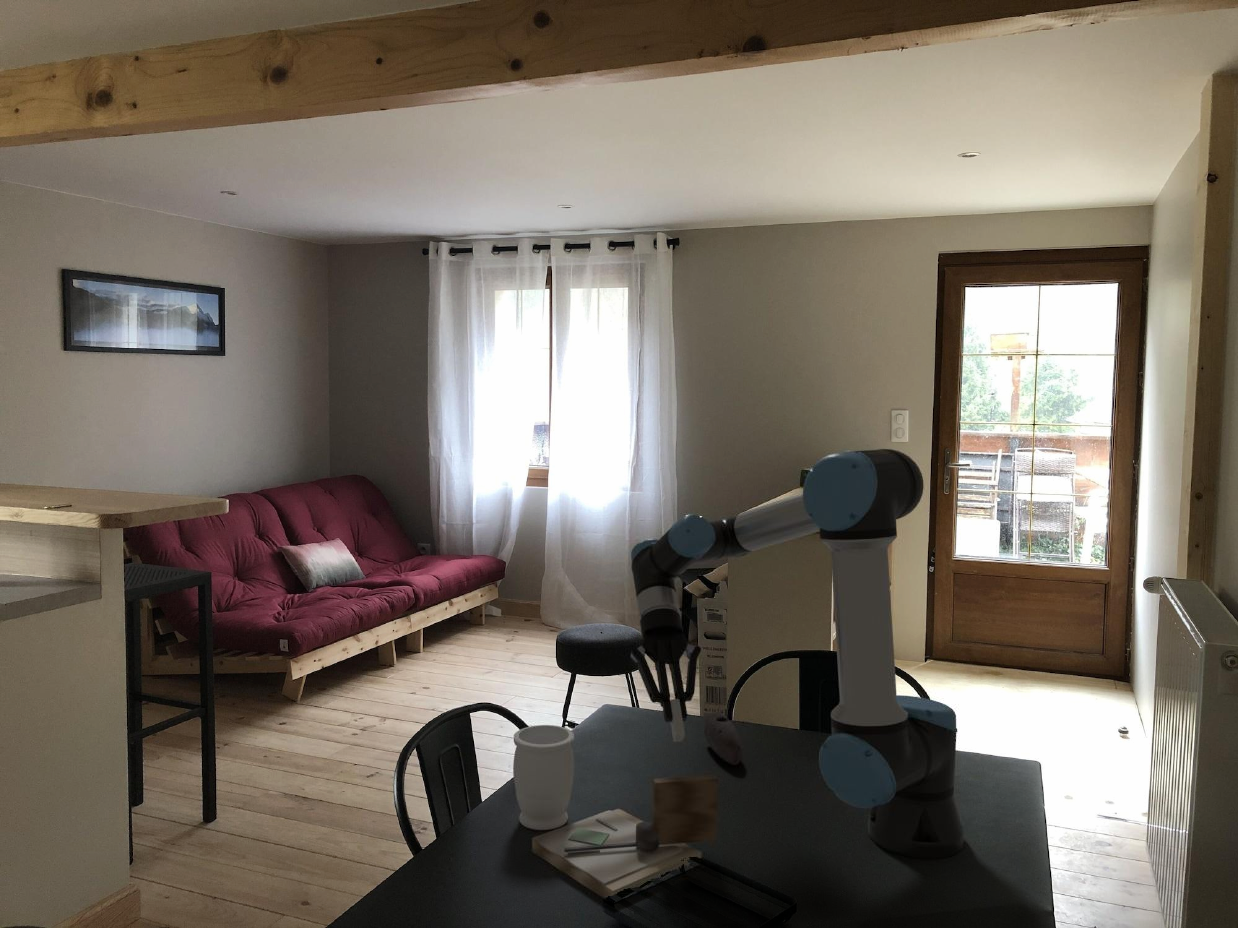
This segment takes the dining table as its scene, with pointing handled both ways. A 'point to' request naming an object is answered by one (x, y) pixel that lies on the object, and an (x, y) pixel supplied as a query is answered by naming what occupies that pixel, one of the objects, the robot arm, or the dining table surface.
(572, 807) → the dining table surface
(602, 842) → the light wood flat board
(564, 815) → the jar
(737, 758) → the perforated stone tool
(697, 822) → the peg
